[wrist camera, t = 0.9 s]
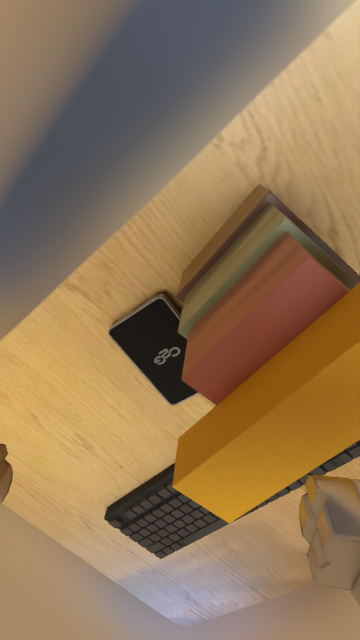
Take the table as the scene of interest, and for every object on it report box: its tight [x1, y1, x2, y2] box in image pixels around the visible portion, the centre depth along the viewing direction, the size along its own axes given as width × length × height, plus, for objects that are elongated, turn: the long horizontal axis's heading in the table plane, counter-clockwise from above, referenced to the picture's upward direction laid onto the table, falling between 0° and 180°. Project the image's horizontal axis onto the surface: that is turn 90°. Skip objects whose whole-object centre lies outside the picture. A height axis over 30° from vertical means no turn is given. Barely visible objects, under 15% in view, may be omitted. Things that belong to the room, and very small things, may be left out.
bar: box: [172, 283, 360, 523], centre depth 14 cm, size 4×14×3 cm, turn 141°
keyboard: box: [104, 440, 360, 559], centre depth 42 cm, size 35×11×2 cm, turn 135°
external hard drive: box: [108, 292, 199, 406], centre depth 34 cm, size 7×11×2 cm, turn 36°
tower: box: [176, 185, 360, 405], centre depth 23 cm, size 10×10×17 cm
